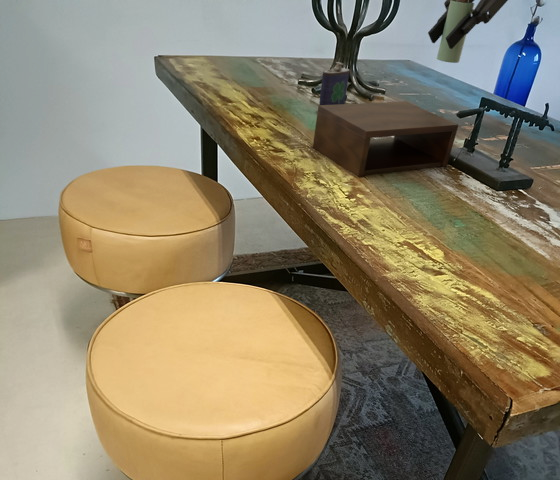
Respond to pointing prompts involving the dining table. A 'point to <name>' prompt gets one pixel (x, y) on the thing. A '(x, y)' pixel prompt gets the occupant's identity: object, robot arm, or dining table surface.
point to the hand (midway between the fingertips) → (439, 40)
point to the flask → (334, 85)
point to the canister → (454, 16)
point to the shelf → (383, 123)
